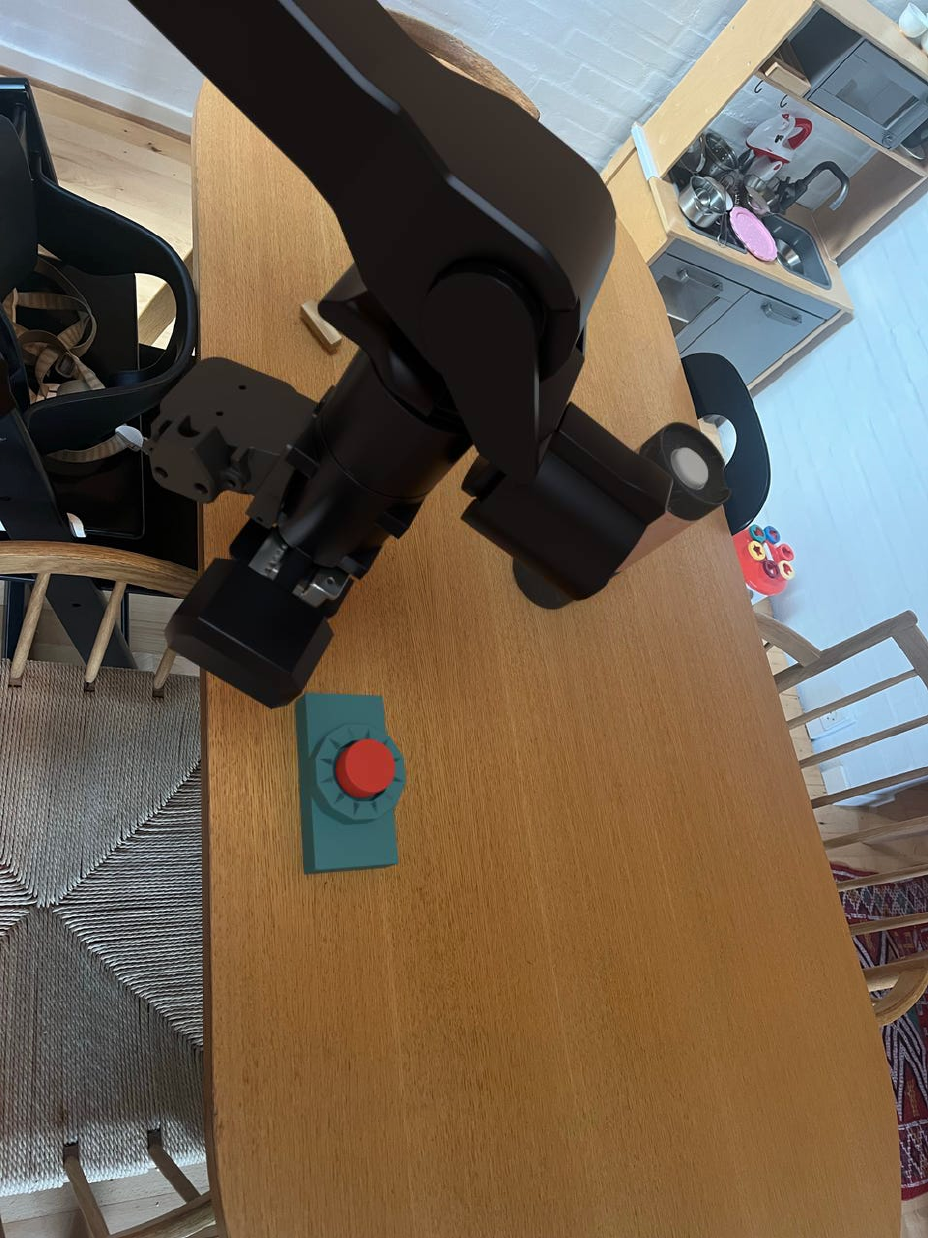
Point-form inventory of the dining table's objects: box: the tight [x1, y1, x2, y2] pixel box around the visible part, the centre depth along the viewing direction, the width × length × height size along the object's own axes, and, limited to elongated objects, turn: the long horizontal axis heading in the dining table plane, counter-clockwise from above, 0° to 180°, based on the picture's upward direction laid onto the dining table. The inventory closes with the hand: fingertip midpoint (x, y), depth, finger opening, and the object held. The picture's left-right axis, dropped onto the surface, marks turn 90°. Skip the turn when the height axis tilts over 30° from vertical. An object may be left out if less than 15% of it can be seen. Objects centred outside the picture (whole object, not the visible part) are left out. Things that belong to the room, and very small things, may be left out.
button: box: [336, 739, 395, 798], centre depth 51 cm, size 4×4×2 cm
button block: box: [294, 691, 407, 876], centre depth 53 cm, size 12×6×4 cm, turn 9°
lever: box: [299, 298, 343, 353], centre depth 73 cm, size 18×4×2 cm, turn 135°
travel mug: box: [512, 421, 732, 610], centre depth 66 cm, size 8×8×20 cm
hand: (268, 594), depth 44 cm, fingers closed
